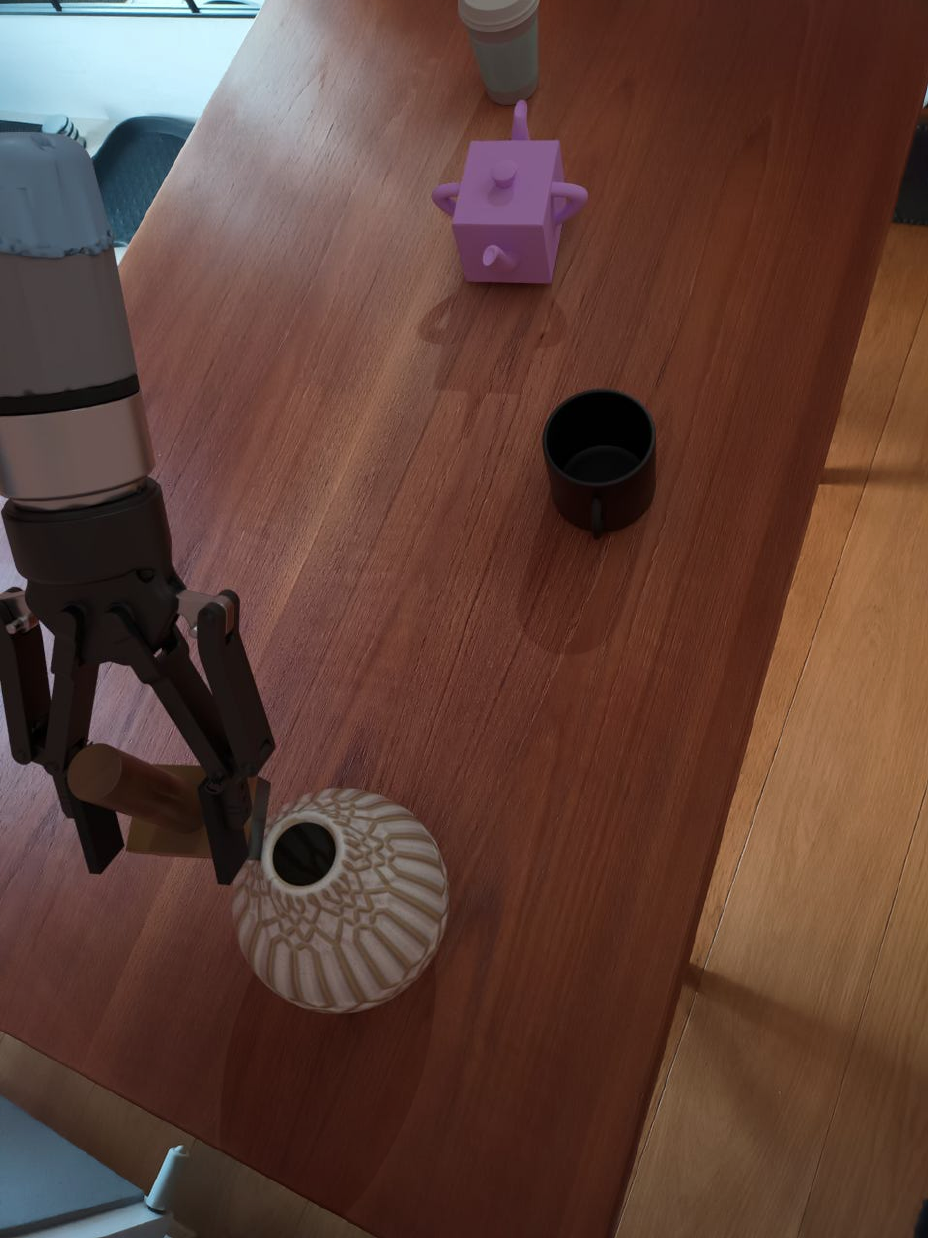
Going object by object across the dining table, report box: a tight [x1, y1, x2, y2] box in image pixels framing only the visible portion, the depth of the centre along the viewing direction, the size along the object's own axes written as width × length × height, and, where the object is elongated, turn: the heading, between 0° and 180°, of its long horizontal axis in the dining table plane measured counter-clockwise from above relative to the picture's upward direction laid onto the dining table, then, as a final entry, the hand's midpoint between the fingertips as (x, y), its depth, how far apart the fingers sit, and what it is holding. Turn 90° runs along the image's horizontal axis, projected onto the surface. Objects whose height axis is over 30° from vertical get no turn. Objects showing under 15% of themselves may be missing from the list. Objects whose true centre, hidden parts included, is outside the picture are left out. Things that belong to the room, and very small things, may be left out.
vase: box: [231, 787, 451, 1015], centre depth 68 cm, size 16×16×20 cm
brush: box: [67, 742, 272, 861], centre depth 55 cm, size 7×5×14 cm
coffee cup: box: [457, 0, 541, 106], centre depth 102 cm, size 8×8×12 cm
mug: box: [541, 388, 657, 541], centre depth 83 cm, size 9×12×9 cm
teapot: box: [431, 100, 589, 285], centre depth 94 cm, size 15×13×11 cm
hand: (169, 864), depth 56 cm, fingers closed on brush, 7 cm apart
